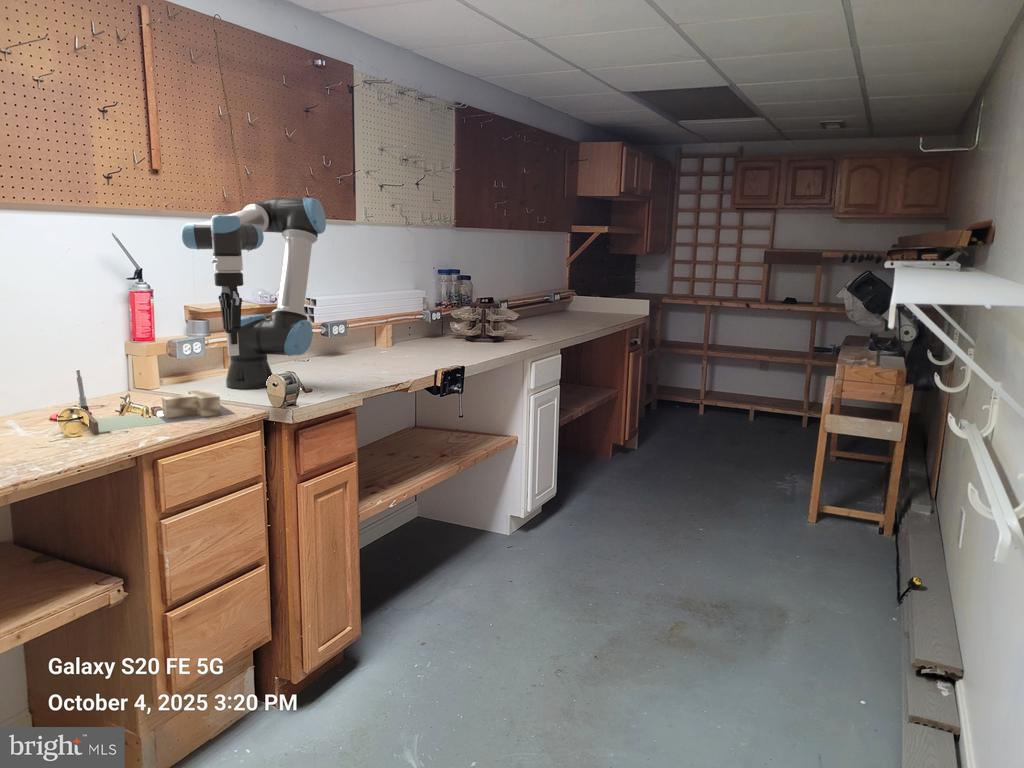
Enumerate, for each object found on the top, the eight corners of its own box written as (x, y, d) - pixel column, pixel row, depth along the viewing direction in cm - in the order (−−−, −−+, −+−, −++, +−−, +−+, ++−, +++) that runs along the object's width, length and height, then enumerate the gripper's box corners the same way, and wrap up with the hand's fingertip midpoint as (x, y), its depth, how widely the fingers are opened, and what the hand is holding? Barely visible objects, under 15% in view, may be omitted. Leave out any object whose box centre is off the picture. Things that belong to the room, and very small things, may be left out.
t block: (207, 406, 216) (206, 389, 215) (220, 414, 207) (219, 396, 206) (159, 412, 208) (158, 394, 207) (170, 420, 199) (169, 402, 198)
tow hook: (56, 424, 197) (93, 417, 204) (47, 377, 194) (86, 370, 201) (46, 419, 203) (83, 412, 209) (37, 373, 200) (75, 367, 206)
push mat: (217, 404, 220) (217, 394, 219) (235, 415, 207) (235, 404, 207) (83, 421, 198) (82, 410, 198) (94, 434, 186) (93, 422, 185)
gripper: (207, 271, 210) (212, 353, 215) (222, 272, 200) (227, 359, 205) (234, 270, 215) (239, 351, 219) (250, 272, 205) (254, 357, 209)
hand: (233, 355), depth 212 cm, fingers closed
